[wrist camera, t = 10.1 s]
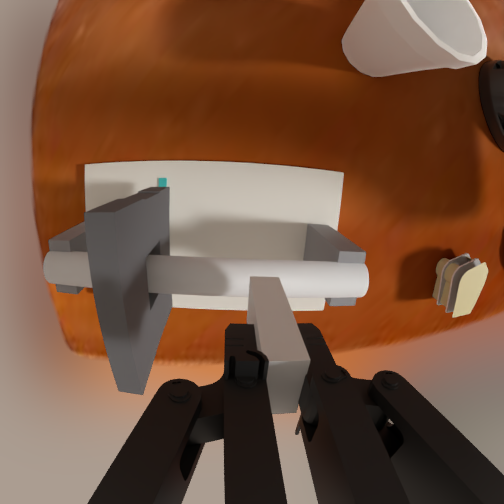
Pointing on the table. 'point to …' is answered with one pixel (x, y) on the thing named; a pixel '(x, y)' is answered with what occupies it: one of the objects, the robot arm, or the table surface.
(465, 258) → the beige layered block
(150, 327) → the collar
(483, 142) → the table surface
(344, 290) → the pipe rig
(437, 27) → the foam cup
